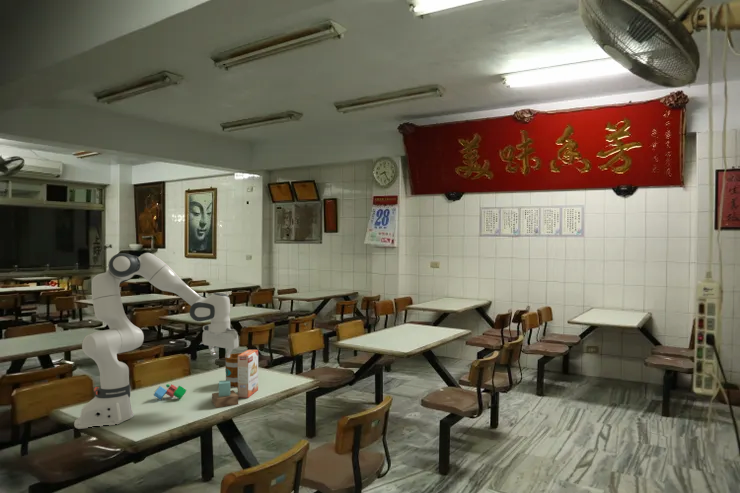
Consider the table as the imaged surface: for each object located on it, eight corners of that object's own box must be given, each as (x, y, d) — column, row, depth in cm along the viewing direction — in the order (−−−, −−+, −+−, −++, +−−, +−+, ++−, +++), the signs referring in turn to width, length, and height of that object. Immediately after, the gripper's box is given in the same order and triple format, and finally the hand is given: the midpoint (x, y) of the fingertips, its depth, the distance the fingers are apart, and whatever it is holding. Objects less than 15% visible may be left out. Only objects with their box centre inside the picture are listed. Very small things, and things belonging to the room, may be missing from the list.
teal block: (218, 396, 229) (218, 383, 229) (219, 393, 234) (219, 380, 234) (229, 395, 230) (229, 382, 230) (230, 392, 235) (230, 380, 235)
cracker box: (249, 398, 238) (248, 355, 238) (237, 398, 239) (236, 355, 239) (259, 389, 252) (258, 349, 252) (248, 389, 253) (247, 349, 253)
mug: (220, 383, 265) (219, 355, 265) (243, 378, 274) (242, 351, 274) (237, 391, 250) (237, 362, 250) (260, 385, 259) (260, 357, 259)
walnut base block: (216, 407, 225) (216, 399, 225) (212, 401, 234) (211, 393, 234) (238, 404, 230) (238, 395, 230) (233, 398, 239) (233, 390, 239)
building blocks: (173, 408, 239) (152, 395, 238) (184, 395, 245) (164, 382, 244) (176, 403, 233) (155, 389, 233) (187, 389, 239) (166, 375, 239)
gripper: (241, 328, 230) (241, 357, 230) (210, 324, 240) (210, 352, 240) (232, 330, 224) (232, 360, 225) (200, 326, 234) (200, 355, 234)
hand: (220, 356), depth 232 cm, fingers open, 8 cm apart
